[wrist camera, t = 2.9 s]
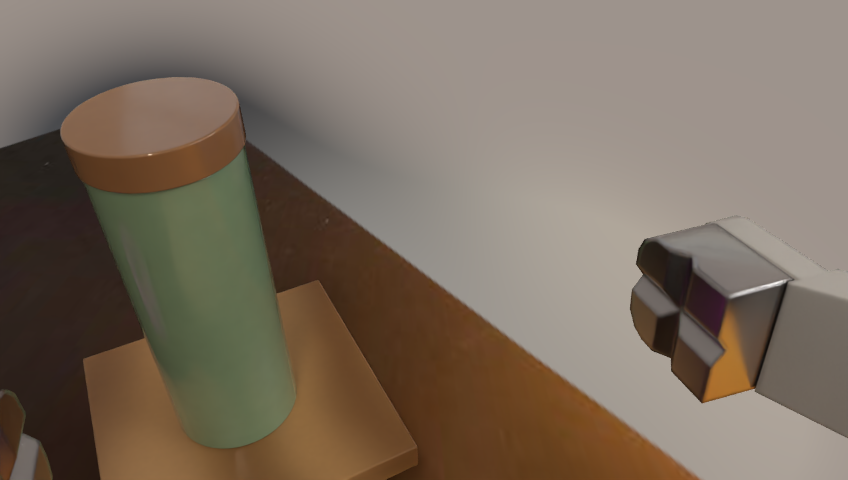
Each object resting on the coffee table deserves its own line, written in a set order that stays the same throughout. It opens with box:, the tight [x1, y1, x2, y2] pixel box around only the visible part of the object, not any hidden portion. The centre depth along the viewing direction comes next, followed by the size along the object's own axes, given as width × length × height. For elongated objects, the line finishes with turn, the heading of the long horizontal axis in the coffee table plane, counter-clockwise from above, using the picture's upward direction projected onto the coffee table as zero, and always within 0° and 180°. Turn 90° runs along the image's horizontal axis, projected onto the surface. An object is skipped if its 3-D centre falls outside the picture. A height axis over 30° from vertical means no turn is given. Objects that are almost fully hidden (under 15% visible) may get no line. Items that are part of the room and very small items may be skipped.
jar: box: [60, 77, 297, 449], centre depth 24 cm, size 5×5×13 cm
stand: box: [83, 280, 418, 480], centre depth 30 cm, size 11×11×6 cm
